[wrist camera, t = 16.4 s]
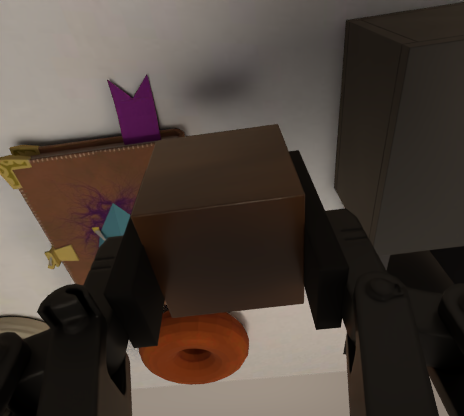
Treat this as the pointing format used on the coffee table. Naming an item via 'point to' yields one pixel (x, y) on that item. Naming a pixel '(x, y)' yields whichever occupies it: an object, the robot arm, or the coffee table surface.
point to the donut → (197, 348)
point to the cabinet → (404, 128)
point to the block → (223, 221)
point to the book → (88, 181)
